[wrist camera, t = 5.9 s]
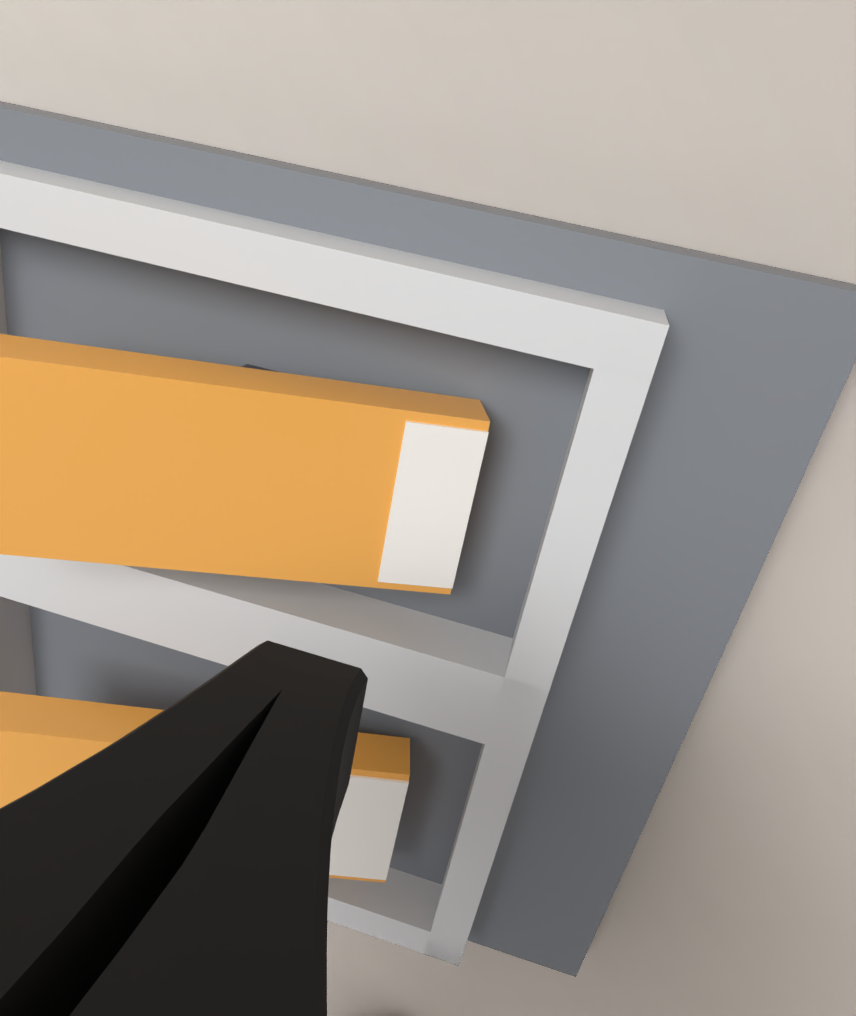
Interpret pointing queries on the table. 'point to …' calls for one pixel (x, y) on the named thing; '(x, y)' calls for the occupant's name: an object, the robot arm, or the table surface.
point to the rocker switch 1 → (232, 469)
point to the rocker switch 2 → (94, 726)
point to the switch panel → (496, 504)
